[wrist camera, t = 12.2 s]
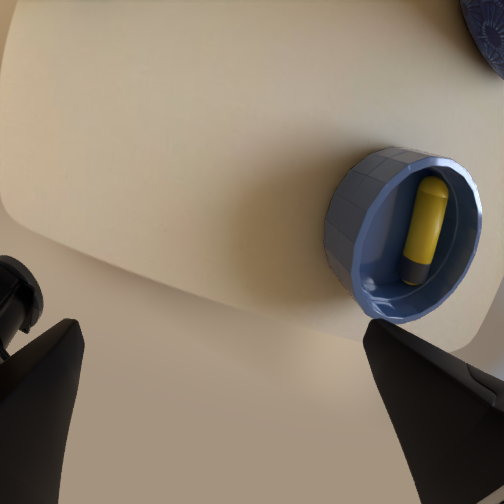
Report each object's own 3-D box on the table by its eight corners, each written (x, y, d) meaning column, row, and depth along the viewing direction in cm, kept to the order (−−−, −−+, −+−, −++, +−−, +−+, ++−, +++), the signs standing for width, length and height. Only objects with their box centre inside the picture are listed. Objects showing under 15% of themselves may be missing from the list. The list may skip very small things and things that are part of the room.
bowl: (386, 308, 25) (414, 341, 20) (288, 249, 21) (311, 285, 16) (459, 205, 22) (497, 224, 17) (382, 113, 17) (428, 115, 13)
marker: (388, 277, 22) (409, 274, 23) (408, 293, 20) (429, 289, 21) (413, 170, 19) (433, 175, 20) (439, 178, 16) (458, 183, 17)
